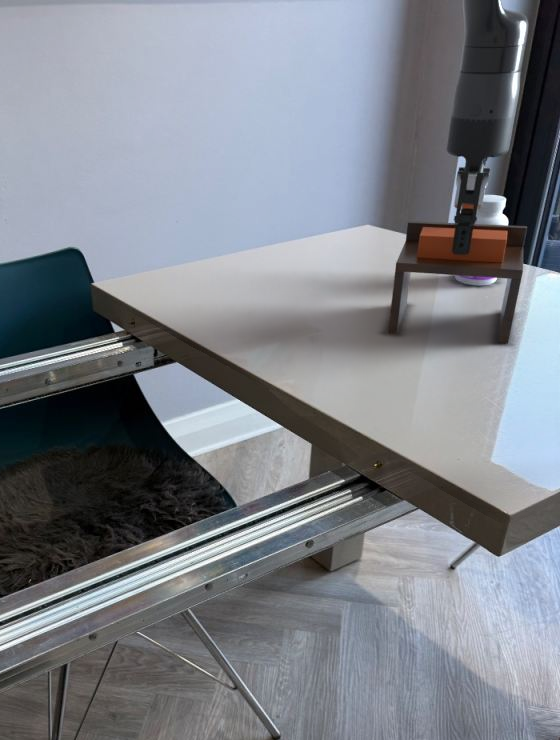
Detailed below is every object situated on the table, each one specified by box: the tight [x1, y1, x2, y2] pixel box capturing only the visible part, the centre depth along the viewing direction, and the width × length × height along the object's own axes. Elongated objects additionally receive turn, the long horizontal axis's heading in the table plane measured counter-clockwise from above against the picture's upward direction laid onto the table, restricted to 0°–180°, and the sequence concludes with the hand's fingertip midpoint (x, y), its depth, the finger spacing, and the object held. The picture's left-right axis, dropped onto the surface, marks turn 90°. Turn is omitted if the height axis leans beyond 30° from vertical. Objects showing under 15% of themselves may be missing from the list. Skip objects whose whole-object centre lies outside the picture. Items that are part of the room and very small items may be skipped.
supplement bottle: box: [454, 194, 509, 287], centre depth 125 cm, size 7×7×13 cm
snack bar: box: [417, 227, 507, 263], centre depth 106 cm, size 11×4×3 cm, turn 70°
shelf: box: [387, 220, 528, 344], centre depth 110 cm, size 16×12×12 cm
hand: (462, 245), depth 106 cm, fingers open, 8 cm apart
